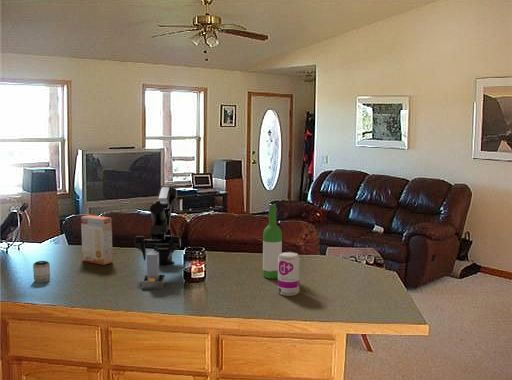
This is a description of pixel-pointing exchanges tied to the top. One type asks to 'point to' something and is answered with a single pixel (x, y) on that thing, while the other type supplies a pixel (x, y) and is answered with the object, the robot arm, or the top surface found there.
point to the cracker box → (96, 239)
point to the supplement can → (288, 273)
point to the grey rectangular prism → (153, 265)
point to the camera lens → (41, 271)
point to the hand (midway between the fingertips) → (155, 260)
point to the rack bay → (153, 282)
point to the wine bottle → (271, 246)
